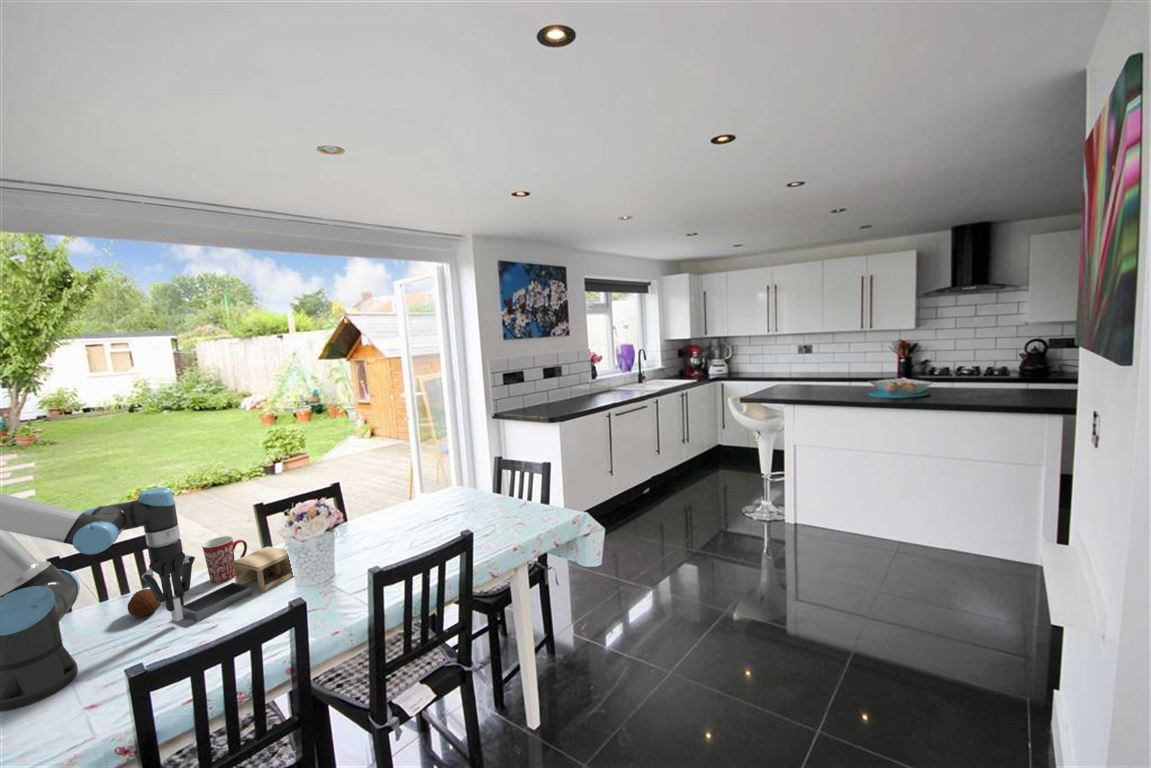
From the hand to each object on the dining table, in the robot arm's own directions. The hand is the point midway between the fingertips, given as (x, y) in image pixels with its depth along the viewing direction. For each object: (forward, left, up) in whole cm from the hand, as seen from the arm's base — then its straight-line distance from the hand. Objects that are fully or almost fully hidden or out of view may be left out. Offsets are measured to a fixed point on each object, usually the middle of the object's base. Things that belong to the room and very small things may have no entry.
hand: (177, 618), depth 148 cm
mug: (+24, +17, -2) cm, 29 cm away
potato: (0, +17, -2) cm, 17 cm away
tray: (+11, 0, -2) cm, 11 cm away
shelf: (+27, 0, -2) cm, 27 cm away
